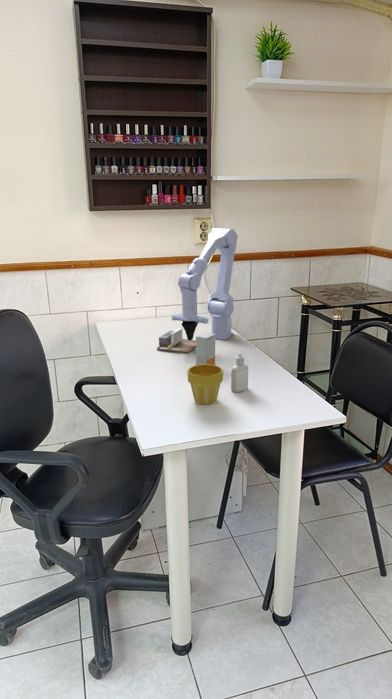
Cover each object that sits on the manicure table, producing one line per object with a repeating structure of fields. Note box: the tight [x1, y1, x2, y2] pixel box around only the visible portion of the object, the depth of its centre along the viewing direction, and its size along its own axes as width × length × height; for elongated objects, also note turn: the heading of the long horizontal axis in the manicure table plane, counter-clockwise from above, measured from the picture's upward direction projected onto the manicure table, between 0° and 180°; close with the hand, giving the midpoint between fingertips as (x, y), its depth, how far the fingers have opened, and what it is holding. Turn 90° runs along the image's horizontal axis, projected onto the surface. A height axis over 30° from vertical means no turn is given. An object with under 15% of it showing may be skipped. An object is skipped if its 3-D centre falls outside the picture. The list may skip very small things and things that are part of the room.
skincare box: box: [195, 332, 216, 365], centre depth 171 cm, size 6×4×12 cm
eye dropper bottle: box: [230, 352, 249, 393], centre depth 152 cm, size 4×6×12 cm
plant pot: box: [187, 364, 224, 406], centre depth 146 cm, size 10×10×10 cm
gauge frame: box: [156, 330, 196, 355], centre depth 194 cm, size 14×13×4 cm
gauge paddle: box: [168, 327, 184, 348], centre depth 193 cm, size 12×1×5 cm, turn 157°
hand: (190, 339), depth 193 cm, fingers closed
